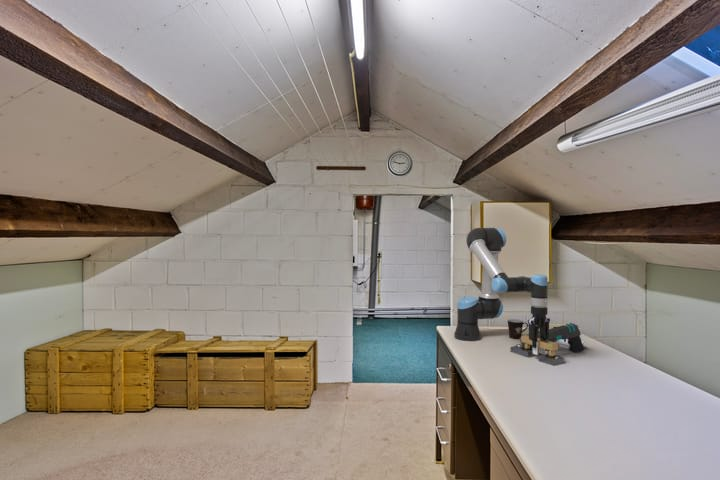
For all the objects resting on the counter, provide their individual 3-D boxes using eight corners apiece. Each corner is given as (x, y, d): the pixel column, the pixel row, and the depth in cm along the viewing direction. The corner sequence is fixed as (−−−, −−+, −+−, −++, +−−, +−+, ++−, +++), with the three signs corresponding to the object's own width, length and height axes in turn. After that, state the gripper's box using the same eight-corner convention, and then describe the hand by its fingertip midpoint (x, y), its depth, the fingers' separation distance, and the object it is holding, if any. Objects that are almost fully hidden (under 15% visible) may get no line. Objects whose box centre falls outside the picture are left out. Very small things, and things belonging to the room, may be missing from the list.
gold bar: (521, 351, 208) (521, 336, 208) (526, 350, 210) (526, 335, 209) (552, 361, 192) (552, 344, 192) (557, 360, 194) (557, 343, 194)
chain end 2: (538, 360, 196) (538, 354, 196) (549, 358, 200) (549, 352, 200) (553, 365, 189) (553, 358, 189) (564, 363, 193) (564, 356, 193)
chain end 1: (510, 351, 211) (510, 344, 211) (521, 349, 215) (521, 343, 215) (528, 357, 202) (528, 350, 201) (539, 355, 205) (539, 348, 205)
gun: (586, 350, 209) (577, 322, 209) (530, 366, 212) (521, 338, 212) (581, 346, 216) (572, 319, 216) (526, 362, 218) (517, 335, 218)
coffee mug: (507, 338, 237) (507, 321, 237) (507, 335, 245) (507, 318, 245) (529, 340, 233) (529, 323, 233) (527, 336, 242) (527, 320, 242)
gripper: (533, 309, 193) (533, 358, 193) (557, 306, 201) (557, 353, 201) (520, 306, 200) (520, 353, 200) (544, 303, 208) (543, 349, 208)
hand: (538, 353), depth 201 cm, fingers closed on gold bar, 4 cm apart
